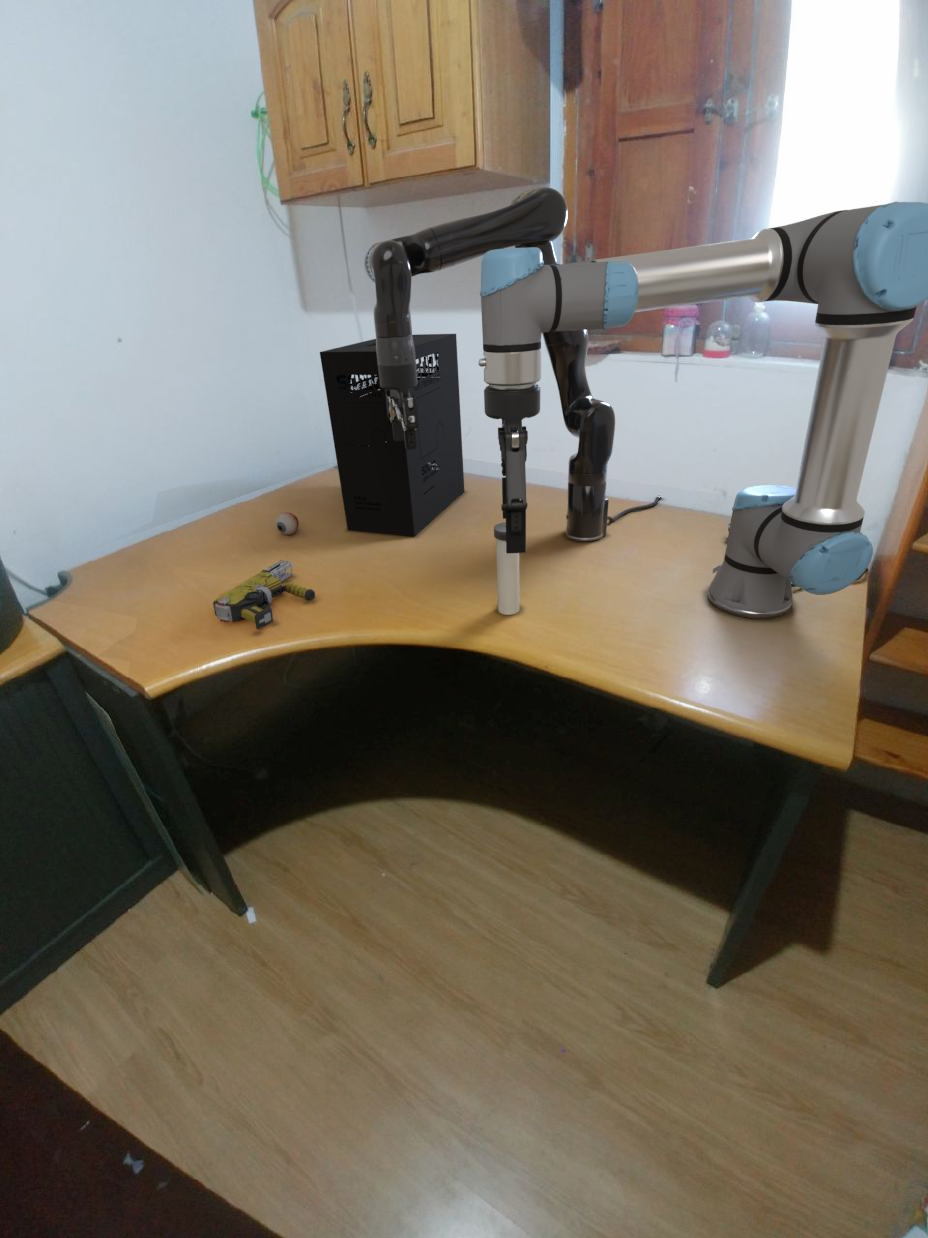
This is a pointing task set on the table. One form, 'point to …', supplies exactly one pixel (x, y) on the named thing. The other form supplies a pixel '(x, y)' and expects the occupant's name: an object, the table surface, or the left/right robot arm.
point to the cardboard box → (365, 447)
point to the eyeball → (287, 523)
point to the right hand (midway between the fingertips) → (513, 534)
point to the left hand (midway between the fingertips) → (404, 444)
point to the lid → (500, 531)
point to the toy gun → (258, 596)
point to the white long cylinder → (507, 579)
